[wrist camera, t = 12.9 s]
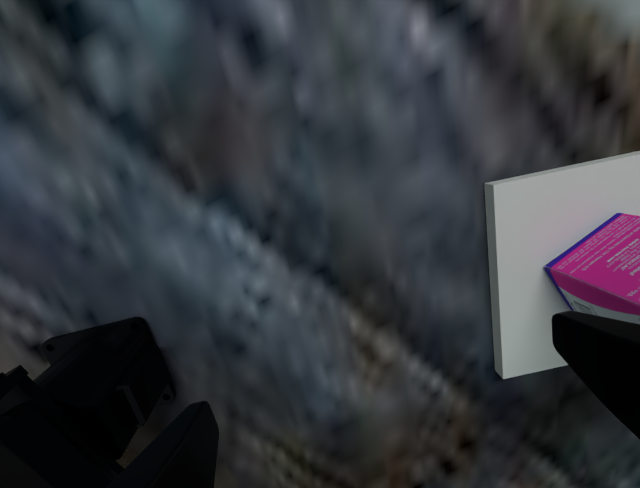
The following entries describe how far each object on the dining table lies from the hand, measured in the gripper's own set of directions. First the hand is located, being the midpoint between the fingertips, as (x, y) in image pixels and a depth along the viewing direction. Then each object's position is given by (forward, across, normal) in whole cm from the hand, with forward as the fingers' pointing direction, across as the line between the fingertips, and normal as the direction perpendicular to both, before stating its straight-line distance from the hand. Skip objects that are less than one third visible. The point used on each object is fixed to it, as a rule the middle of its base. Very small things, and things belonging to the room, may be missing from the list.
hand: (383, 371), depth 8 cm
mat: (+13, -17, +6) cm, 22 cm away
